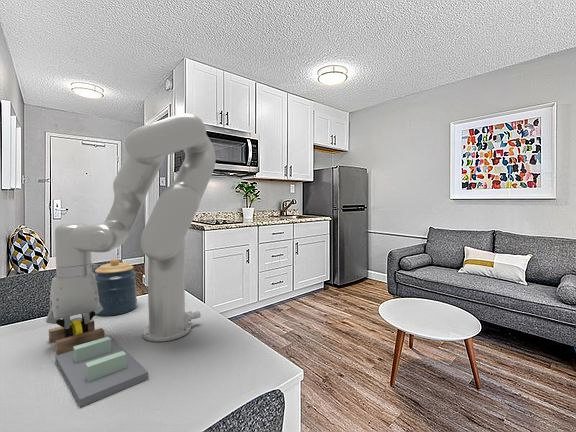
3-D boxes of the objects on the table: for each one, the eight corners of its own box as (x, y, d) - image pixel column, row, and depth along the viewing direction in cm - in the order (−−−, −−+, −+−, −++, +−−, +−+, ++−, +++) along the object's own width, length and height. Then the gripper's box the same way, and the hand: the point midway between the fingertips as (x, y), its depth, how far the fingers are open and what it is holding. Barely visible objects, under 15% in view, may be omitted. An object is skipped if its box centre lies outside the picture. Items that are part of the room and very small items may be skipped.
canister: (143, 308, 104) (142, 257, 103) (101, 320, 94) (99, 263, 93) (128, 300, 112) (127, 253, 111) (88, 309, 103) (86, 258, 102)
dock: (113, 344, 78) (112, 327, 78) (148, 378, 63) (147, 357, 63) (55, 362, 69) (54, 343, 69) (80, 407, 54) (79, 383, 54)
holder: (92, 329, 87) (92, 318, 87) (104, 341, 80) (104, 330, 80) (49, 340, 80) (48, 329, 80) (57, 355, 73) (57, 343, 72)
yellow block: (67, 340, 81) (66, 318, 81) (79, 337, 83) (78, 315, 83) (73, 346, 77) (72, 322, 77) (86, 342, 79) (85, 319, 79)
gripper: (104, 264, 87) (106, 326, 88) (32, 273, 76) (35, 345, 77) (113, 268, 82) (114, 334, 83) (37, 279, 71) (40, 356, 72)
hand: (76, 339), depth 80 cm, fingers closed on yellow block, 2 cm apart
